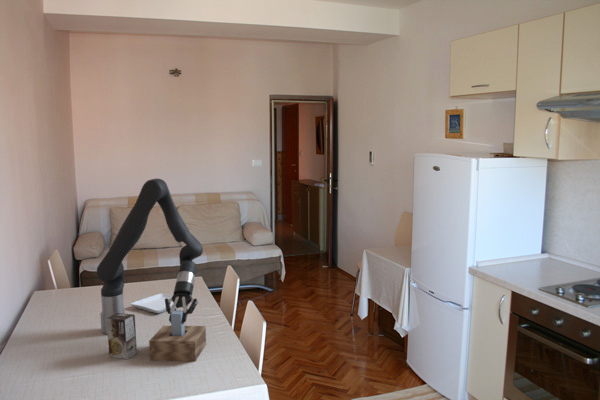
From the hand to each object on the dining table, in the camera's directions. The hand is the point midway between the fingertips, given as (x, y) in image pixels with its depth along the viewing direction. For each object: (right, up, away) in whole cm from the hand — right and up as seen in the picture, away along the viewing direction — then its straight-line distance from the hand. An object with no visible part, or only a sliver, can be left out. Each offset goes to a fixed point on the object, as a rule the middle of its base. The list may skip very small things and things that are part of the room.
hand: (177, 322), depth 194 cm
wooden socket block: (0, -13, +2) cm, 13 cm away
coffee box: (-22, -13, +1) cm, 26 cm away
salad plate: (-24, -7, +60) cm, 65 cm away
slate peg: (0, -6, +2) cm, 6 cm away
